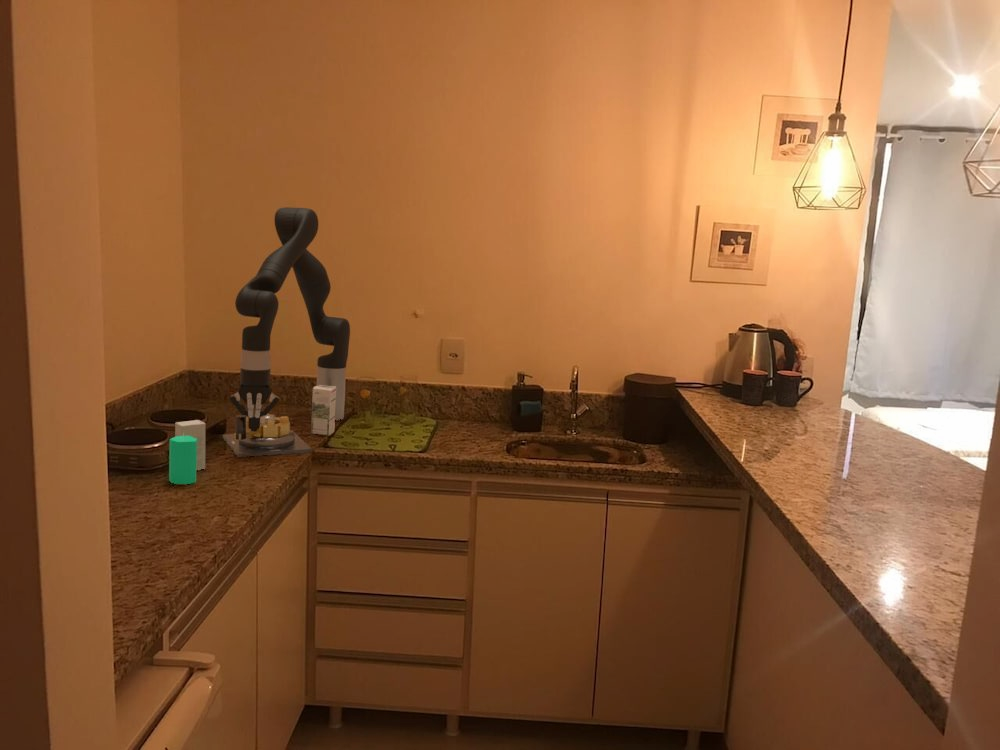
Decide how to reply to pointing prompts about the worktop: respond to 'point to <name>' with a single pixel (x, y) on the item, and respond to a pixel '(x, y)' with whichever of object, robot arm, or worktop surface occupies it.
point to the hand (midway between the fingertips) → (254, 430)
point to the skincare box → (196, 431)
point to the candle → (182, 459)
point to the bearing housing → (267, 443)
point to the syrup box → (323, 410)
